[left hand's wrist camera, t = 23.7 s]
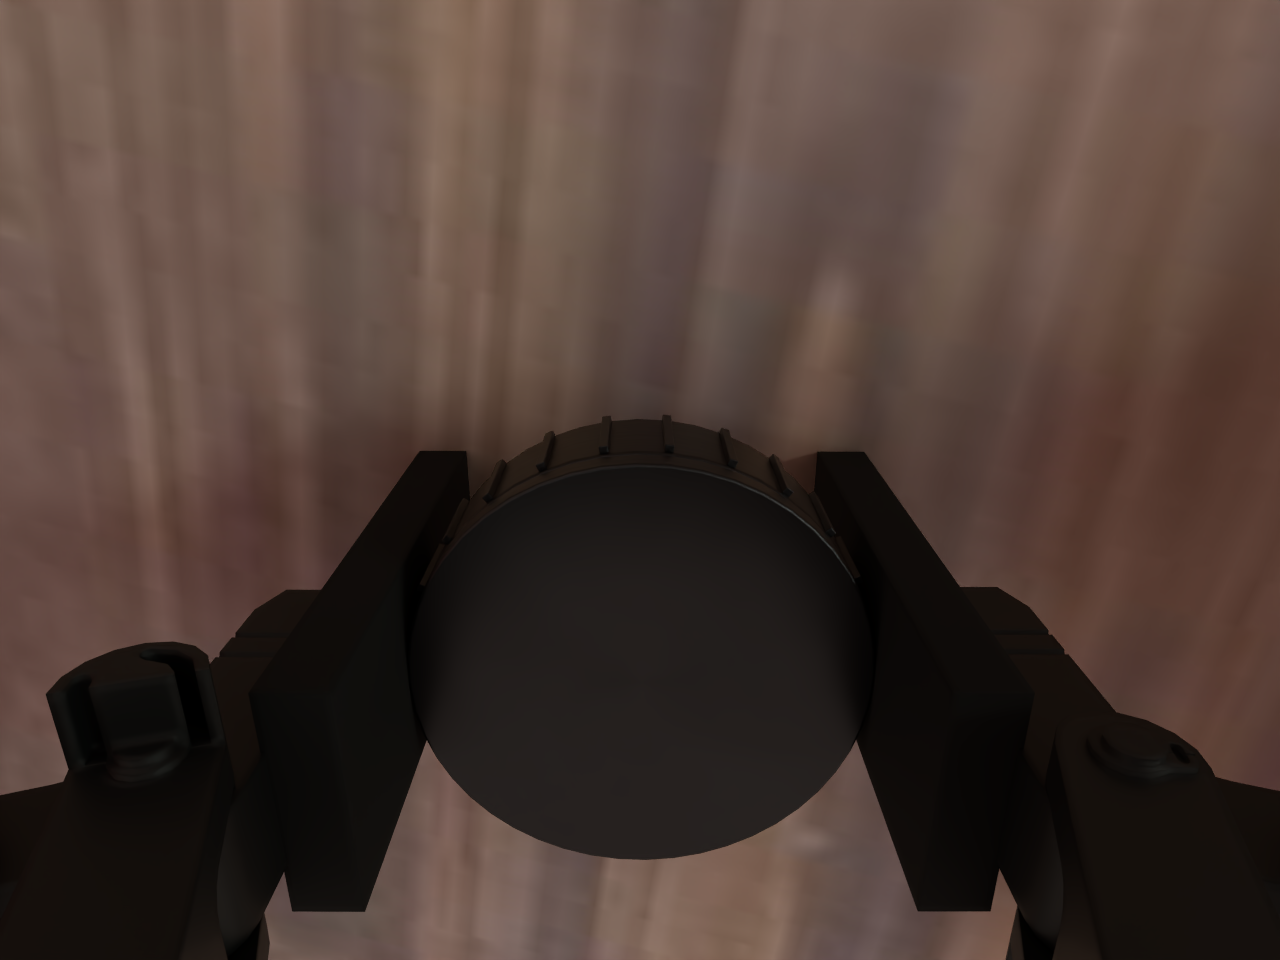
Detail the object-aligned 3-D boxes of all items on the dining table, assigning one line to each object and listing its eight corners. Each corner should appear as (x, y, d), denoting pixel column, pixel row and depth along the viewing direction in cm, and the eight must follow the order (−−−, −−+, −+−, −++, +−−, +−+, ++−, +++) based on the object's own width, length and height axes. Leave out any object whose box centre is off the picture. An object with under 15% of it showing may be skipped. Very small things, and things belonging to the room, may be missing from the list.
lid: (513, 813, 13) (497, 903, 12) (366, 480, 11) (323, 535, 10) (884, 728, 13) (917, 810, 11) (801, 359, 11) (828, 397, 9)
